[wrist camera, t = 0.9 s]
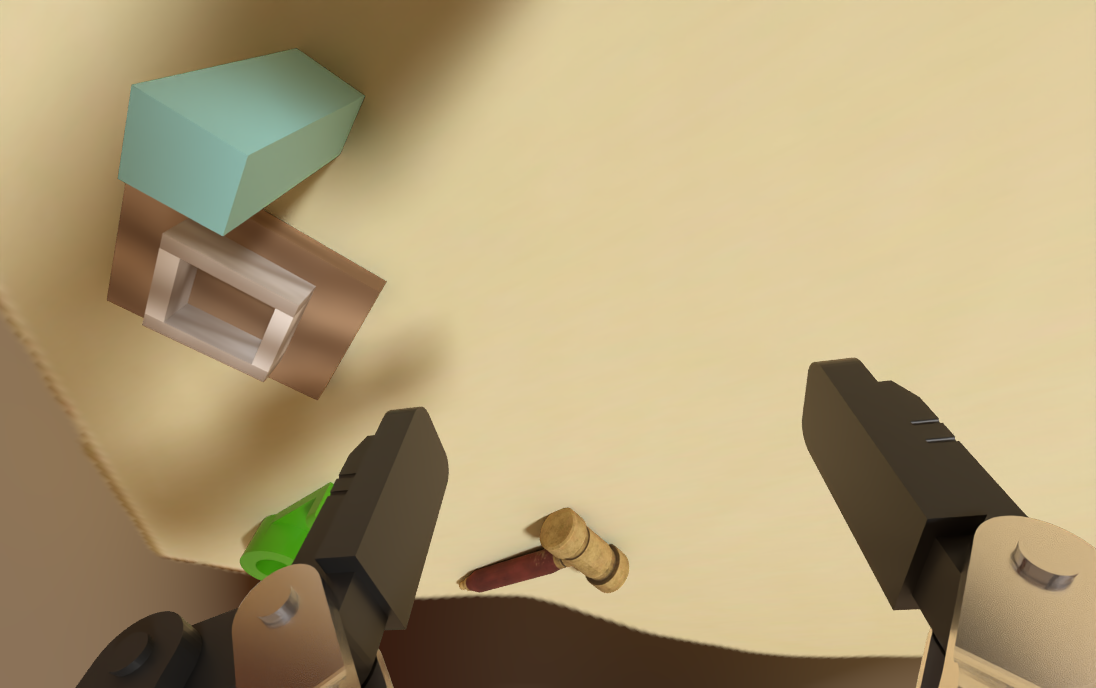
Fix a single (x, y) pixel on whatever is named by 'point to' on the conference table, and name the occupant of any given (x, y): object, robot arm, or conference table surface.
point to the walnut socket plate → (241, 291)
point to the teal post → (235, 135)
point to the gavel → (558, 557)
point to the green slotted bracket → (282, 535)
